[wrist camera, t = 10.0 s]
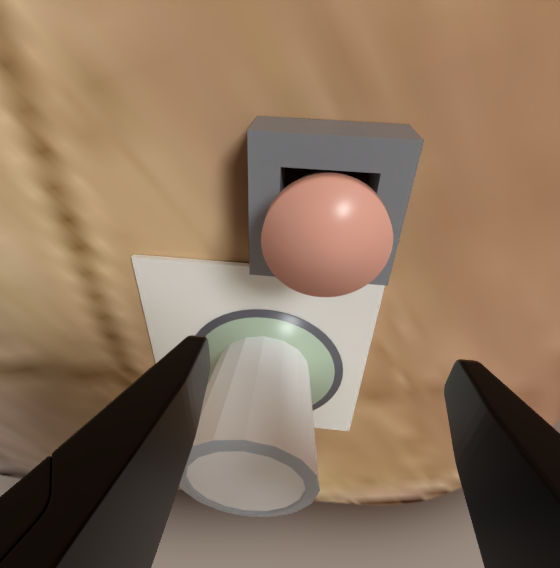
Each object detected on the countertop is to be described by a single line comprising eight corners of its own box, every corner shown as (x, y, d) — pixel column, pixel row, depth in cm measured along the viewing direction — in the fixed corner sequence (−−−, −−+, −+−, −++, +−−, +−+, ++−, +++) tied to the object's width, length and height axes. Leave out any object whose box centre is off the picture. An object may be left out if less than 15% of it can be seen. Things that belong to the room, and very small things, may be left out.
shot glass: (298, 316, 20) (290, 432, 14) (332, 396, 23) (337, 515, 18) (189, 341, 22) (142, 452, 16) (236, 411, 25) (211, 524, 19)
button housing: (257, 246, 18) (249, 274, 16) (257, 115, 15) (247, 130, 13) (379, 256, 18) (387, 285, 16) (409, 124, 14) (423, 140, 12)
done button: (271, 243, 17) (260, 292, 14) (274, 144, 14) (261, 176, 11) (368, 250, 17) (379, 301, 13) (388, 151, 14) (407, 186, 11)
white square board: (168, 409, 27) (166, 414, 26) (133, 254, 19) (130, 258, 19) (348, 427, 26) (349, 432, 25) (385, 274, 18) (387, 278, 18)
